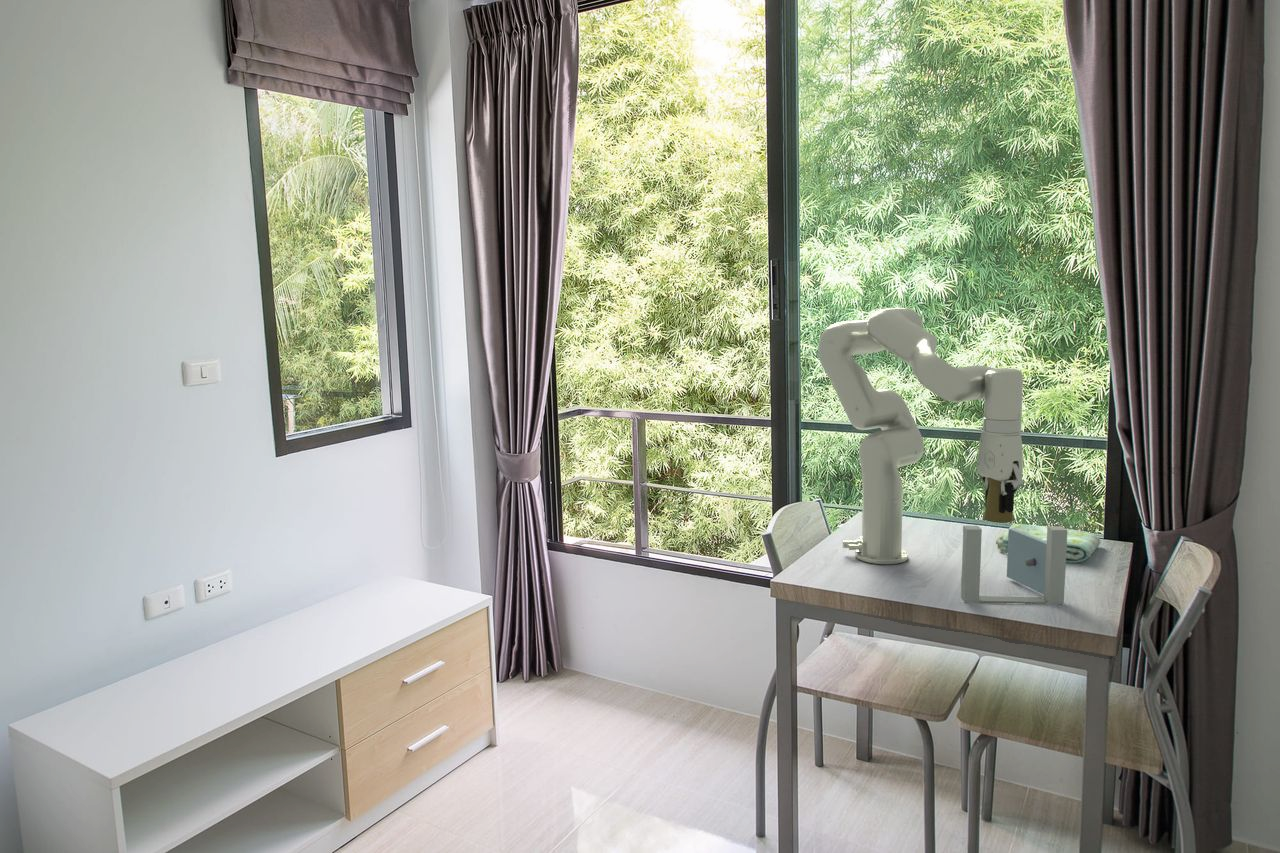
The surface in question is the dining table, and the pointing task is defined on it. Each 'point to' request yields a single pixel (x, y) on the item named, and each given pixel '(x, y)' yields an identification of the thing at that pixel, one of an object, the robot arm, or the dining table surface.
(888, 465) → the robot arm
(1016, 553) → the door
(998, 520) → the cork
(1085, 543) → the towel
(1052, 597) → the door frame
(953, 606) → the dining table surface
